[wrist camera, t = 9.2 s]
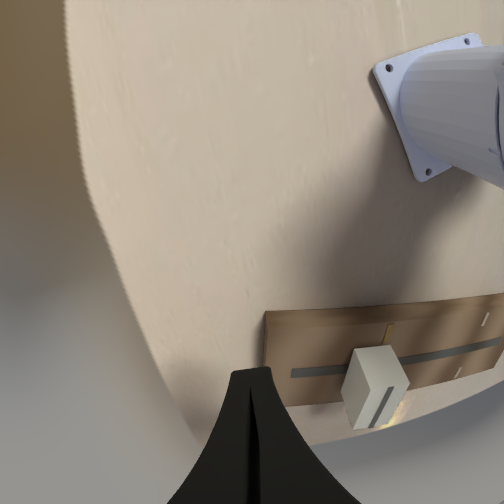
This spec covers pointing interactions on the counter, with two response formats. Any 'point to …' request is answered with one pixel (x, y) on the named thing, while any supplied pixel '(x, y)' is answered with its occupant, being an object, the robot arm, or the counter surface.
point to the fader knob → (373, 386)
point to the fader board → (381, 343)
